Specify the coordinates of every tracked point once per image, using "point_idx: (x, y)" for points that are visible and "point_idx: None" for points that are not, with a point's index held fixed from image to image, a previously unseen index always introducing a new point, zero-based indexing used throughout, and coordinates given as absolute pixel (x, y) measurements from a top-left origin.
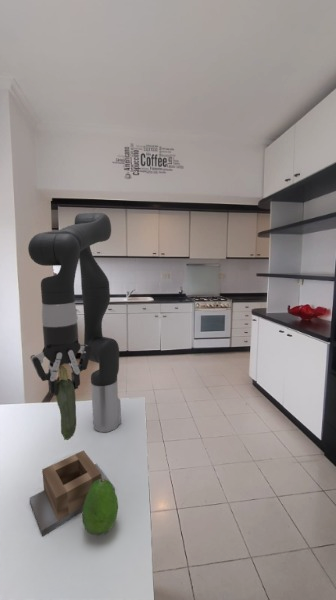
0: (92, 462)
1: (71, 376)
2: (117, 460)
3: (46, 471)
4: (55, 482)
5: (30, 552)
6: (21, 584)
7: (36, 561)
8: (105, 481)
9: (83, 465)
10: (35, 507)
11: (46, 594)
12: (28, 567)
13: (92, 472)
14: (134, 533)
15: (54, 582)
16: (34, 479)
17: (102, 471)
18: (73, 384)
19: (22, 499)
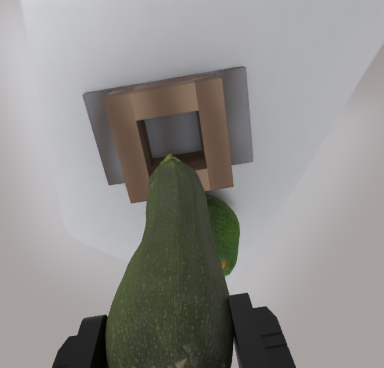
0: (227, 142)
1: (242, 365)
2: (297, 68)
3: (113, 112)
4: (133, 161)
5: (93, 196)
6: (84, 233)
7: (102, 213)
8: (225, 268)
9: (204, 141)
10: (96, 129)
11: (115, 256)
12: (92, 216)
13: (217, 173)
14: (243, 240)
15: (126, 249)
16: (92, 15)
17: (248, 103)
18: (231, 362)
19: (69, 72)
